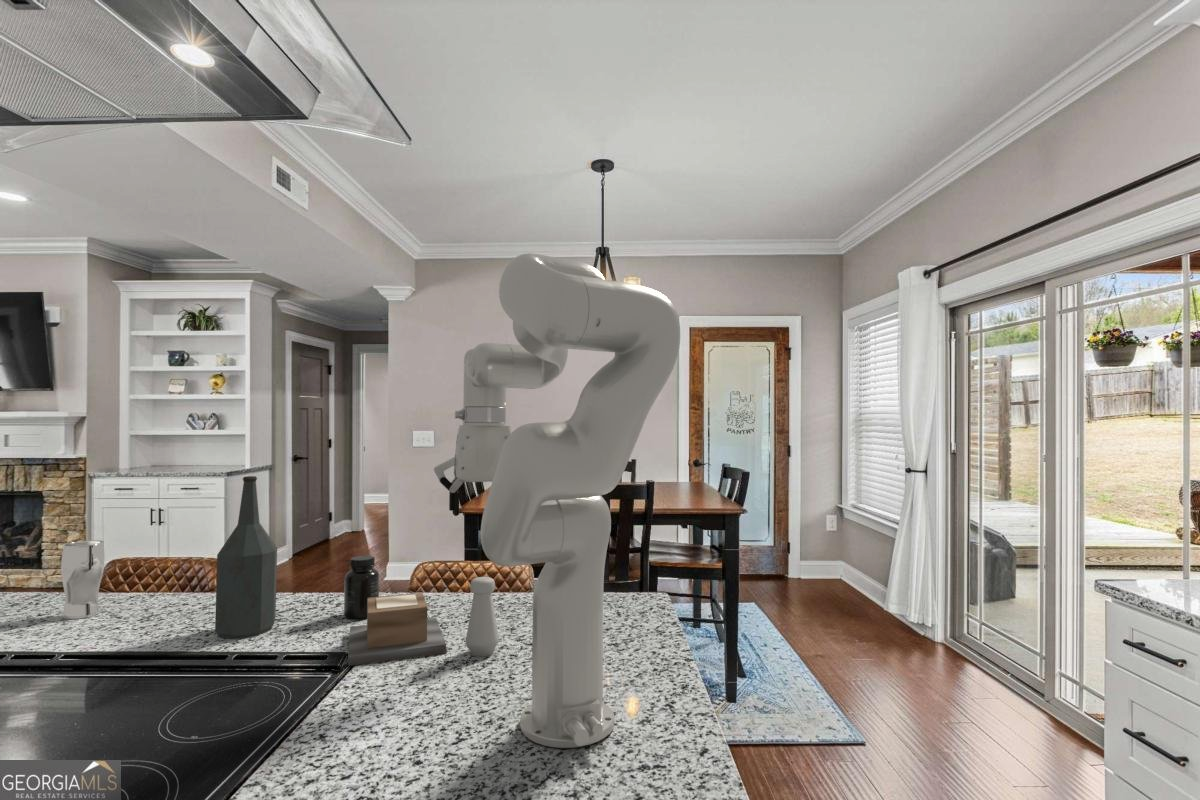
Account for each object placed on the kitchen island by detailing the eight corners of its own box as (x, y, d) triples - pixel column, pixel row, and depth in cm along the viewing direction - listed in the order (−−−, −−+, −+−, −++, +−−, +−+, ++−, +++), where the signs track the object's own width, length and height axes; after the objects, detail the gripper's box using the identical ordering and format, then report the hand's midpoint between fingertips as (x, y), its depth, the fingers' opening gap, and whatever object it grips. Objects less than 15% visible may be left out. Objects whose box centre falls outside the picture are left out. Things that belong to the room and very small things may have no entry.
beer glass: (50, 618, 125) (53, 545, 126) (87, 608, 132) (90, 539, 132) (74, 621, 123) (77, 547, 124) (110, 611, 130) (113, 541, 130)
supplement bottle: (372, 608, 133) (373, 553, 133) (383, 616, 127) (384, 558, 128) (339, 614, 128) (340, 557, 129) (349, 622, 123) (351, 563, 124)
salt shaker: (502, 647, 110) (503, 574, 110) (493, 659, 104) (494, 582, 105) (471, 646, 110) (471, 573, 111) (460, 658, 105) (461, 581, 105)
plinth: (446, 653, 107) (446, 608, 107) (347, 665, 101) (348, 619, 101) (436, 625, 122) (436, 586, 122) (349, 634, 116) (350, 594, 116)
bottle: (270, 635, 115) (274, 477, 117) (210, 642, 112) (215, 479, 113) (277, 619, 125) (281, 473, 126) (222, 625, 121) (226, 474, 123)
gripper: (437, 417, 102) (435, 519, 102) (536, 418, 109) (535, 514, 108) (432, 417, 109) (431, 512, 109) (526, 418, 116) (525, 508, 115)
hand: (483, 513), depth 108 cm, fingers open, 9 cm apart
